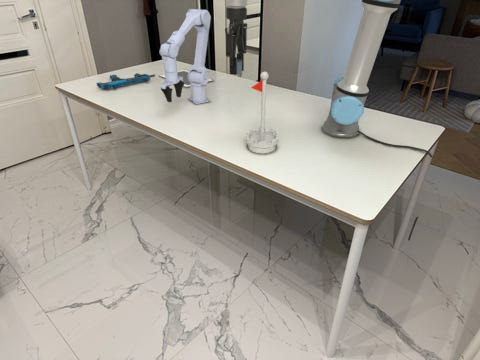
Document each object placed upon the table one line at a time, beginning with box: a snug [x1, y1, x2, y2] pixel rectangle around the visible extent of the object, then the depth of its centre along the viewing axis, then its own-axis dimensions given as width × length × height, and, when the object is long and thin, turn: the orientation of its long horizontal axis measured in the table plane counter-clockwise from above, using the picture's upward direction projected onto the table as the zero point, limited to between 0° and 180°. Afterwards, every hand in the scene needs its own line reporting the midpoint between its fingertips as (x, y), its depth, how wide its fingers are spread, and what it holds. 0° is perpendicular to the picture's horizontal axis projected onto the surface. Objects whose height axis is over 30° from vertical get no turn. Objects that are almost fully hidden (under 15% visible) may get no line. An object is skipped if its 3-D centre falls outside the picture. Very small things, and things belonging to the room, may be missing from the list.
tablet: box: [158, 69, 214, 88], centre depth 216 cm, size 32×20×1 cm, turn 41°
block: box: [237, 59, 243, 75], centre depth 133 cm, size 4×4×5 cm
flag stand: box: [245, 71, 280, 154], centre depth 128 cm, size 13×13×30 cm
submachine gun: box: [95, 72, 156, 91], centre depth 209 cm, size 34×4×25 cm
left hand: (174, 99), depth 165 cm, fingers open, 7 cm apart
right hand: (236, 72), depth 134 cm, fingers closed on block, 5 cm apart
